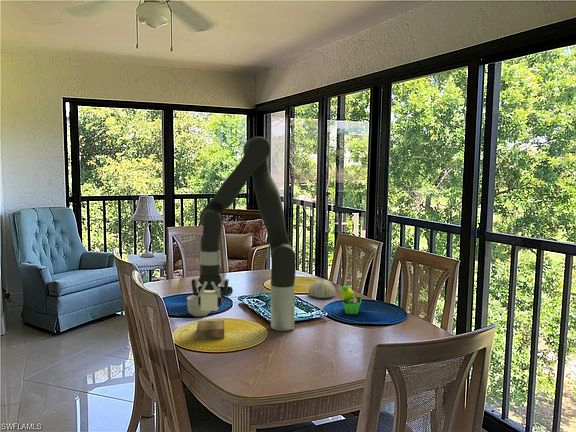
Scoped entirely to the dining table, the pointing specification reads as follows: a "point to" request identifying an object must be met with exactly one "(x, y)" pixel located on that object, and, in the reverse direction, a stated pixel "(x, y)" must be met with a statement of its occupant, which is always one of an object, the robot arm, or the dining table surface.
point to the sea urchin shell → (322, 289)
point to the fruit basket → (350, 301)
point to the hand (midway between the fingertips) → (210, 306)
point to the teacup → (195, 307)
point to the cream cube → (209, 300)
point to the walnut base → (210, 329)
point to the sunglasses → (229, 290)
